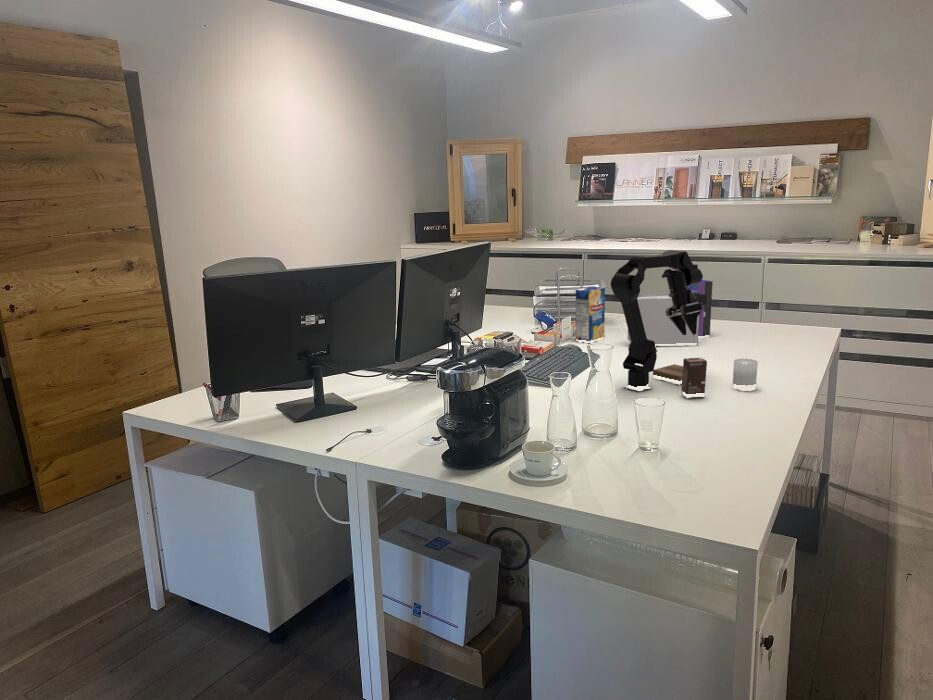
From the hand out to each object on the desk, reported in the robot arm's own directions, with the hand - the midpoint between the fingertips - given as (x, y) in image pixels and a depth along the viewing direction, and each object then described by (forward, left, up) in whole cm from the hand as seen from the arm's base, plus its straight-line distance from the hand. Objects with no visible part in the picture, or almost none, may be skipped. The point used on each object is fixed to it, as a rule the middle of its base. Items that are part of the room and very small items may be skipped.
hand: (689, 334), depth 232 cm
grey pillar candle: (+7, -17, -16) cm, 24 cm away
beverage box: (+19, +64, -16) cm, 69 cm away
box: (-12, -12, -16) cm, 23 cm away
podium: (0, +4, -16) cm, 16 cm away
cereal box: (+58, +43, -16) cm, 74 cm away
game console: (+34, +38, -16) cm, 53 cm away
